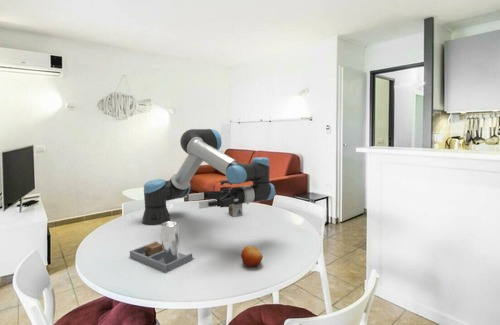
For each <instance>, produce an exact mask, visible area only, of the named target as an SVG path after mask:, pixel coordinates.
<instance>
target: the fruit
mask: <svg viewBox="0 0 500 325" xmlns="http://www.w3.org/2000/svg"><path fill="white" fill-rule="evenodd" d="M240 256H241V257H240V258H241V262H242V263H243V264H242V265H243V268H245V267H249V268H257V267H258V266H259V265H260V264H261V262H262V261H263V253H262V252H261V250H260V249H259V248H257V247H255V246H253V245H250V246H248V245H247V246H245V247H243V249H242V251H241V255H240Z"/></svg>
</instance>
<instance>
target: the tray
mask: <svg viewBox="0 0 500 325" xmlns="http://www.w3.org/2000/svg"><path fill="white" fill-rule="evenodd" d="M154 242H156V243H159V242H158V241H154ZM154 242H152V243H154ZM178 255H179V259H177V260H174V261H172V262H170V263H168V264H165V263H163V261H164V250H163V251H161V252H159V253H156V254H154V255H151V256H149V257H148V256H145V245H142V246H140V247H137V248H134V249H132V250H129V258H131V259H134V260H136V261H137V262H140V263H142V264H145V265H146V266H149V267H151V268H153V269H157V270H159V271H161V272H163V273H166V274H168V273H169V272H171V271H173V270H175V269H177V268H180V267H182V266H183V265H185V264H187V263H189V262H192V261H193V260H196V258H195V257H193V253H191V252H190V253H188V254H183V253H181V252H178Z"/></svg>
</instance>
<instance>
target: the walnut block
mask: <svg viewBox="0 0 500 325" xmlns="http://www.w3.org/2000/svg"><path fill="white" fill-rule="evenodd" d="M156 242H157V241H154V243H153V242H151V243H148V244H146V245H144V246H145V256H148V257H149V256H151V255H154V254H156V253H159V252H161V251H163V246H162V243H159V242H158V243H156Z"/></svg>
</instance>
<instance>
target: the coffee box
mask: <svg viewBox="0 0 500 325" xmlns="http://www.w3.org/2000/svg"><path fill="white" fill-rule="evenodd" d="M232 188H233V187H232ZM232 188H228V192H230V191H231V189H232ZM227 208H228V214H229V215H230V216H231V217H233V218H235V217H243V204H238V205H234V204H231V205H228V207H227Z"/></svg>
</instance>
